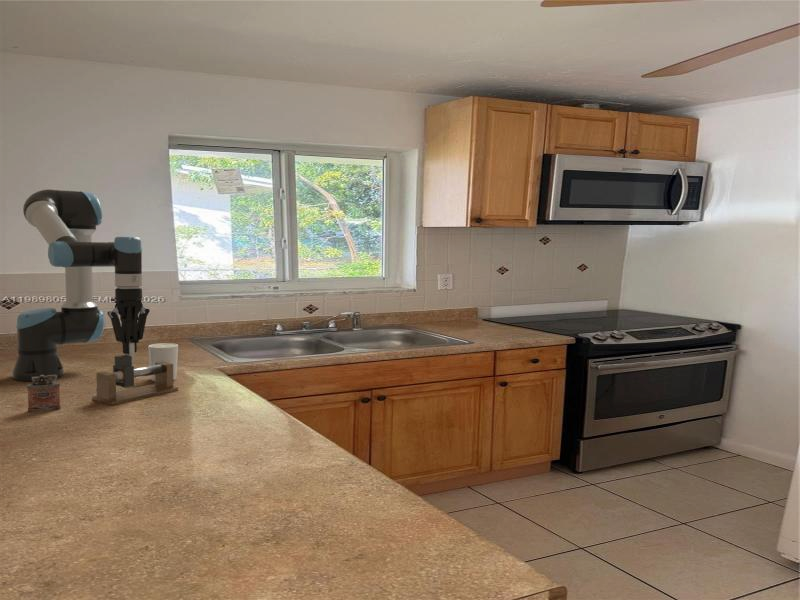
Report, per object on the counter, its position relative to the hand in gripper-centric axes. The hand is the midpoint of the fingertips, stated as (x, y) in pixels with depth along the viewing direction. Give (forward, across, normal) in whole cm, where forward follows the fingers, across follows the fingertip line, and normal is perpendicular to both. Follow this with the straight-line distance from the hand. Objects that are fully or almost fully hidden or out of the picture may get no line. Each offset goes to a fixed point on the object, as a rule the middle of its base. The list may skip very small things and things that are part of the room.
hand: (129, 363), depth 187 cm
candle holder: (+11, +21, +12) cm, 26 cm away
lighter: (+11, -23, +5) cm, 26 cm away
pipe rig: (+10, +2, 0) cm, 11 cm away
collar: (+6, -2, 0) cm, 7 cm away
